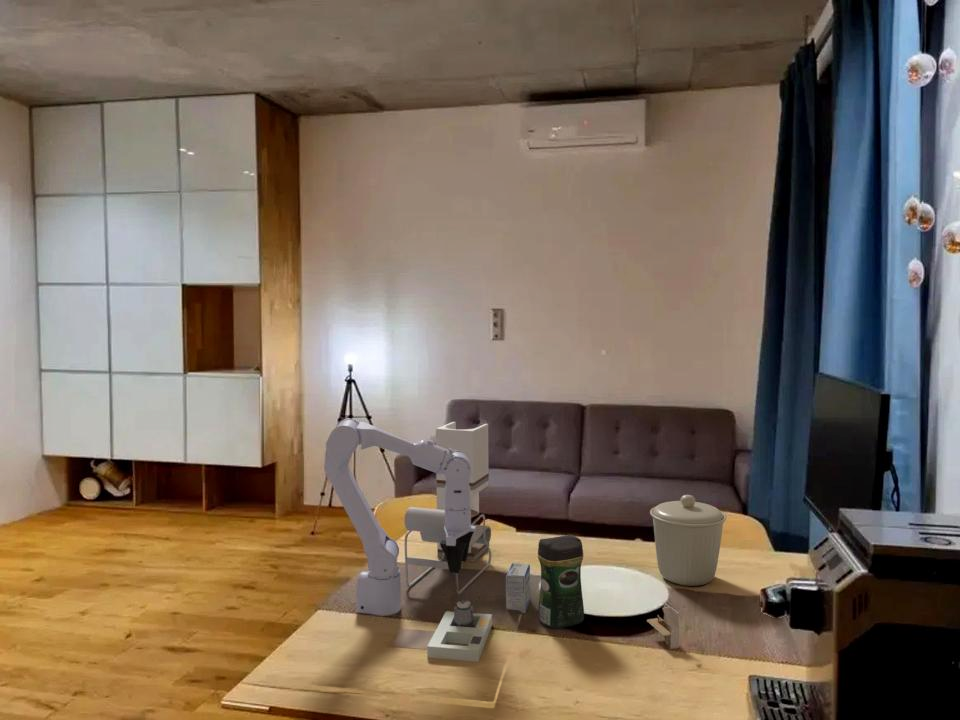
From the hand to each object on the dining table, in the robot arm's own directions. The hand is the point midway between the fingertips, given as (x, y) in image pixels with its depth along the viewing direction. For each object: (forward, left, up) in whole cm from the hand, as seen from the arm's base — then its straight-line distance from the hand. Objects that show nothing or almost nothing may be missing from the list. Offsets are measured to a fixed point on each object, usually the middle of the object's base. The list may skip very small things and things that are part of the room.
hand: (458, 566), depth 165 cm
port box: (+4, -16, -10) cm, 19 cm away
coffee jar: (+23, -2, -10) cm, 25 cm away
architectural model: (+45, -8, -11) cm, 47 cm away
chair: (-6, +19, -10) cm, 22 cm away
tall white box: (-7, +37, -10) cm, 39 cm away
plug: (+4, -12, -10) cm, 16 cm away
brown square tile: (-6, -17, -10) cm, 21 cm away
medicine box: (+13, +4, -10) cm, 17 cm away
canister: (+52, +27, -10) cm, 59 cm away
